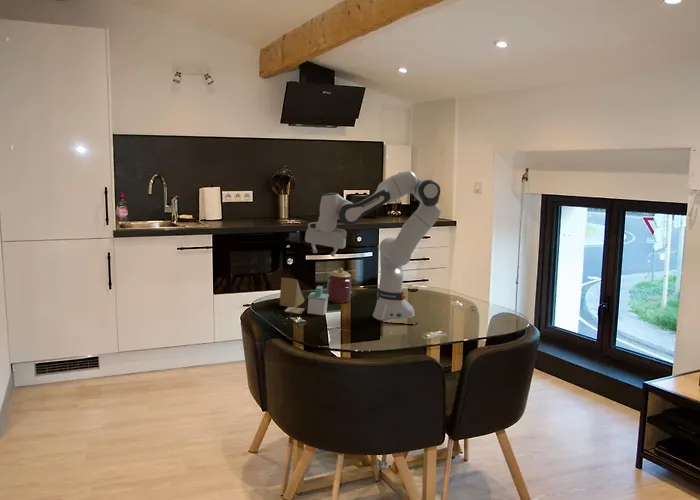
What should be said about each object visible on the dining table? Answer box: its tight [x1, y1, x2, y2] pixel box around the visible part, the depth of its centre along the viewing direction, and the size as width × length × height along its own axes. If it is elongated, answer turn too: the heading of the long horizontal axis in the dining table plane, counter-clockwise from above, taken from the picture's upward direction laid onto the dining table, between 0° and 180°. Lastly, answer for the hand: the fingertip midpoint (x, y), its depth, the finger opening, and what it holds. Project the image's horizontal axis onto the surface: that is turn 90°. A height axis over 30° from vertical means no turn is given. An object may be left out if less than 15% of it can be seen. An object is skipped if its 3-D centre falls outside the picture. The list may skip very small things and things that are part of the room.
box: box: [306, 298, 329, 316], centre depth 308 cm, size 8×8×8 cm
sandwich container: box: [279, 277, 306, 308], centre depth 319 cm, size 9×15×15 cm, turn 164°
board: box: [284, 307, 305, 315], centre depth 307 cm, size 8×8×1 cm
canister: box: [325, 267, 353, 304], centre depth 334 cm, size 13×13×18 cm
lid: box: [307, 285, 329, 301], centre depth 307 cm, size 9×9×5 cm
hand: (323, 254), depth 305 cm, fingers open, 8 cm apart
